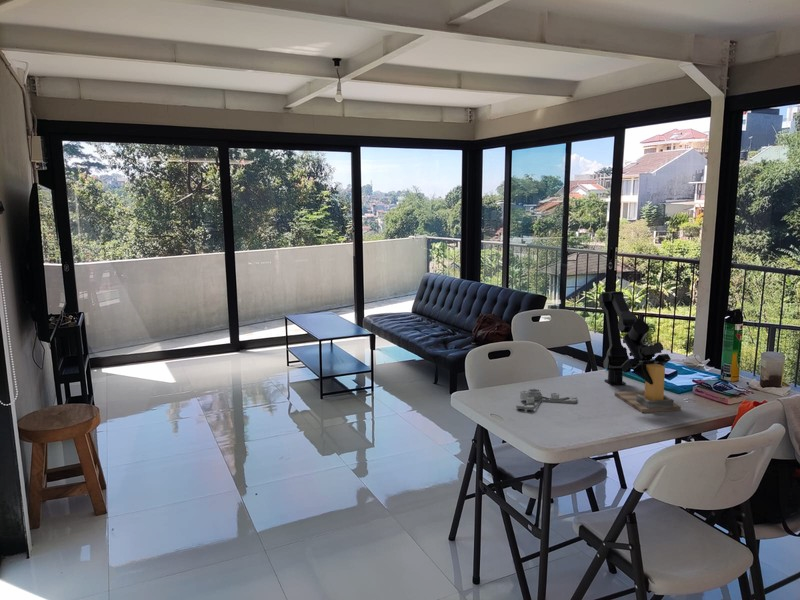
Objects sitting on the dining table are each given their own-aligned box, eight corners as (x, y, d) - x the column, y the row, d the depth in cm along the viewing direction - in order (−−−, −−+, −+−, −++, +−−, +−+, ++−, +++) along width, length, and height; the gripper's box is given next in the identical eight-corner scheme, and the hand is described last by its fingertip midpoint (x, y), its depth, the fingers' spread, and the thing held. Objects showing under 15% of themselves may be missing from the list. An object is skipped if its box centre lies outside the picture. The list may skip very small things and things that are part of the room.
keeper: (614, 395, 230) (614, 386, 230) (650, 392, 232) (650, 383, 232) (641, 412, 211) (642, 402, 210) (680, 409, 213) (681, 399, 212)
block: (644, 398, 217) (645, 364, 215) (654, 397, 219) (655, 363, 217) (653, 402, 213) (655, 368, 211) (663, 400, 215) (665, 366, 213)
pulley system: (500, 404, 227) (523, 414, 213) (500, 392, 226) (523, 401, 212) (557, 395, 238) (583, 404, 224) (557, 384, 237) (583, 392, 223)
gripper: (628, 337, 213) (649, 375, 204) (668, 332, 219) (690, 368, 211) (612, 354, 221) (632, 390, 213) (651, 348, 228) (672, 383, 219)
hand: (657, 383), depth 214 cm, fingers closed on block, 4 cm apart
